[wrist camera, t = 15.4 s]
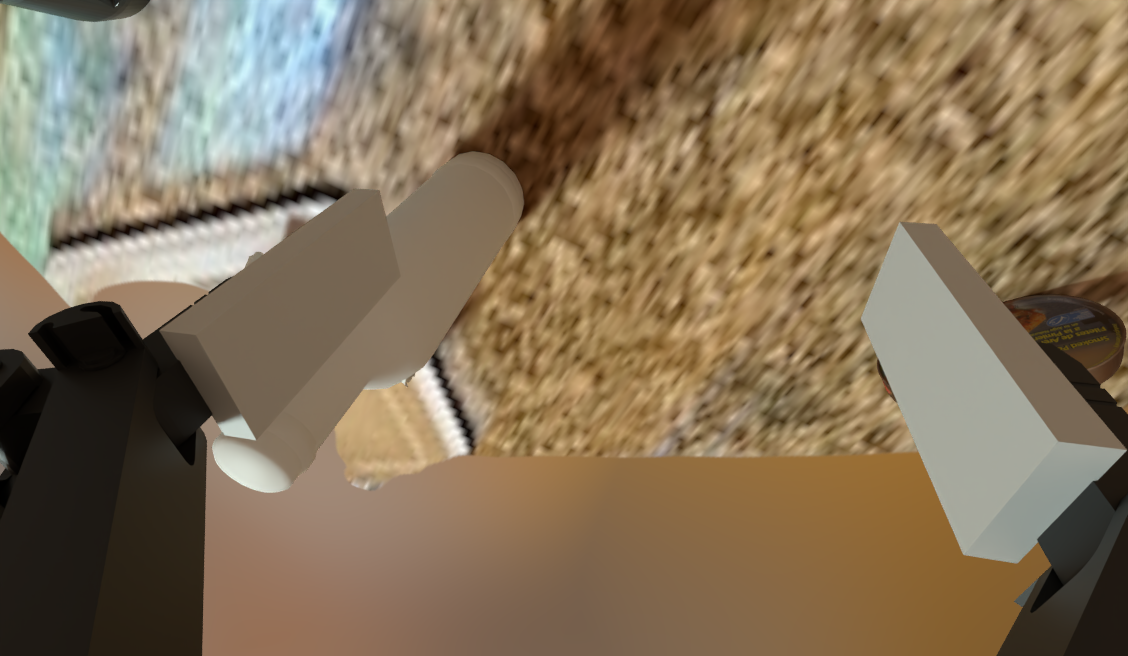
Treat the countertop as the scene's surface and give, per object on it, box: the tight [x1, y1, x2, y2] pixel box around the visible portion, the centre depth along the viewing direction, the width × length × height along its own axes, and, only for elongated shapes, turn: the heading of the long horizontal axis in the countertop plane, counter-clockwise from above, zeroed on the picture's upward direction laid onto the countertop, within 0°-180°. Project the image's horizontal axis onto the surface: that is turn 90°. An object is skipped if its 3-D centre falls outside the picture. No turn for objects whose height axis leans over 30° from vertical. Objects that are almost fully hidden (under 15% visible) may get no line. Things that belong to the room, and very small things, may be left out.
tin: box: [877, 295, 1126, 402], centre depth 40 cm, size 15×3×8 cm, turn 121°
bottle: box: [212, 151, 524, 493], centre depth 33 cm, size 8×8×30 cm
